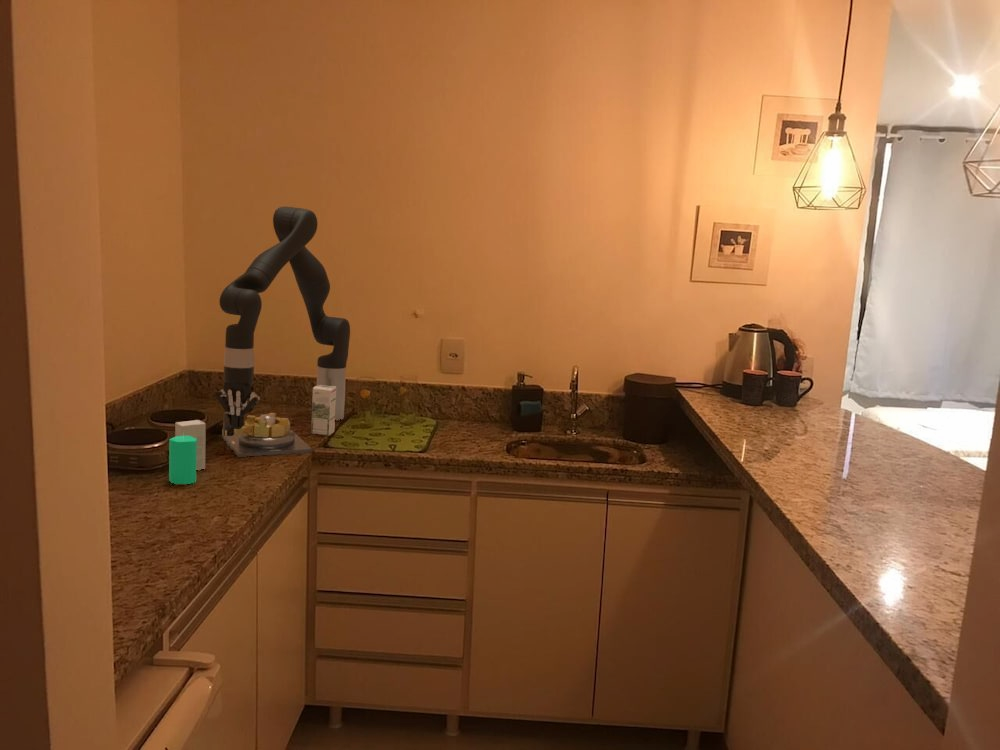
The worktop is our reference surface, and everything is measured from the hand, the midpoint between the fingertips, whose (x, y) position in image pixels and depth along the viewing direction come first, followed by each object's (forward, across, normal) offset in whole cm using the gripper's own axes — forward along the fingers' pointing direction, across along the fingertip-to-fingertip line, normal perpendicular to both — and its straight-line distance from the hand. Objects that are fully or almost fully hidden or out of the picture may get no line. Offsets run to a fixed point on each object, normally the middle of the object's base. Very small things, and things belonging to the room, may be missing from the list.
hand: (237, 428), depth 207 cm
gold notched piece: (+3, 0, -8) cm, 9 cm away
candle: (+8, -2, +25) cm, 26 cm away
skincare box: (+8, +2, +17) cm, 18 cm away
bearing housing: (+7, -2, -12) cm, 14 cm away
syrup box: (+7, -9, -31) cm, 34 cm away
